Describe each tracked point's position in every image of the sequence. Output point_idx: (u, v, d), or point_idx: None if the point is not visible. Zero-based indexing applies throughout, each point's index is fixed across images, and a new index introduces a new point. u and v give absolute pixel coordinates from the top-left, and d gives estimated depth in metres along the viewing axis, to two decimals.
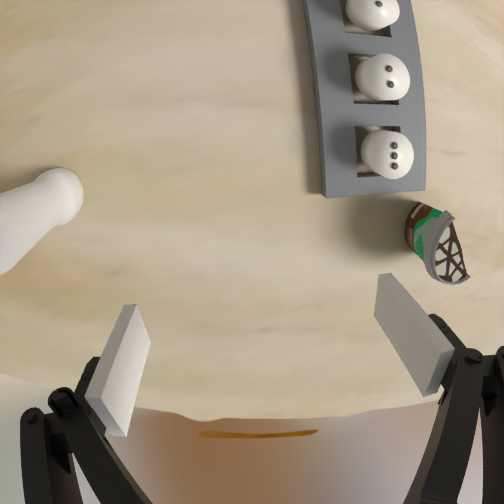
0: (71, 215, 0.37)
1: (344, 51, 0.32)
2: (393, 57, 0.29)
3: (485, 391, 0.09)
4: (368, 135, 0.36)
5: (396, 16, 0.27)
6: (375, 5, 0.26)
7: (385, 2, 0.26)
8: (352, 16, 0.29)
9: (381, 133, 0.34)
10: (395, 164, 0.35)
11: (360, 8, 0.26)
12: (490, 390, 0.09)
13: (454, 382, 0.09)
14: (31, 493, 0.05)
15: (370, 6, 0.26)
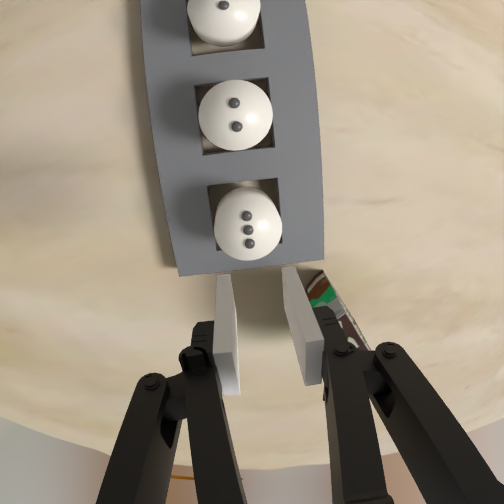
0: None
1: (188, 83, 0.26)
2: (243, 83, 0.22)
3: None
4: (223, 197, 0.30)
5: (253, 17, 0.20)
6: (218, 8, 0.19)
7: (236, 0, 0.19)
8: (195, 31, 0.22)
9: (230, 198, 0.27)
10: (250, 241, 0.28)
11: (191, 19, 0.20)
12: (372, 387, 0.11)
13: (331, 380, 0.10)
14: (119, 461, 0.07)
15: (209, 12, 0.20)
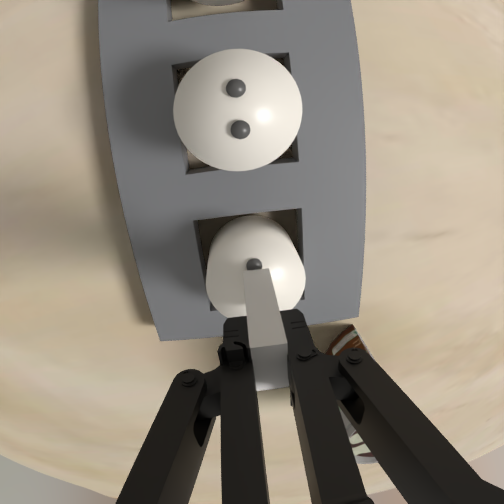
0: None
1: (163, 62, 0.15)
2: (251, 55, 0.12)
3: None
4: (219, 232, 0.21)
5: None
6: None
7: None
8: None
9: (229, 238, 0.18)
10: None
11: None
12: (338, 393, 0.11)
13: (296, 386, 0.10)
14: (147, 457, 0.08)
15: None
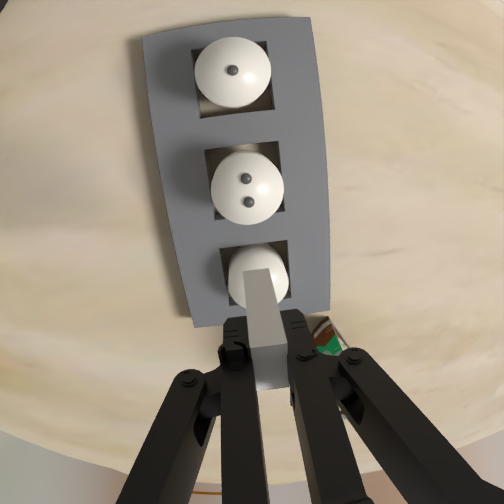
0: None
1: (198, 148, 0.28)
2: (254, 157, 0.24)
3: None
4: (235, 253, 0.33)
5: (264, 84, 0.22)
6: (226, 73, 0.21)
7: (245, 64, 0.21)
8: None
9: (242, 258, 0.31)
10: None
11: (200, 86, 0.22)
12: (337, 393, 0.11)
13: (296, 386, 0.10)
14: (147, 457, 0.08)
15: (217, 78, 0.22)
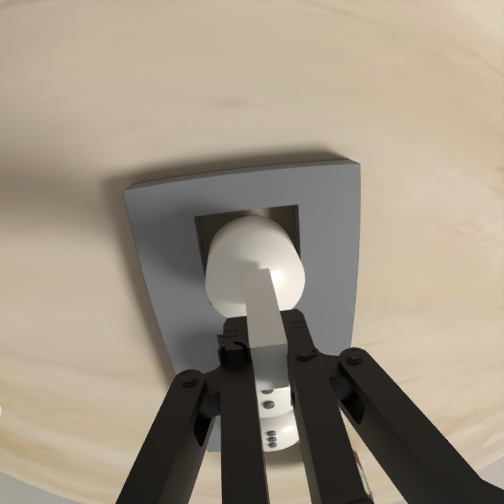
0: None
1: (210, 333, 0.25)
2: None
3: None
4: None
5: (294, 299, 0.19)
6: None
7: (272, 275, 0.19)
8: None
9: None
10: (273, 444, 0.29)
11: (213, 303, 0.19)
12: (338, 393, 0.11)
13: (296, 386, 0.10)
14: (147, 457, 0.08)
15: (236, 294, 0.19)
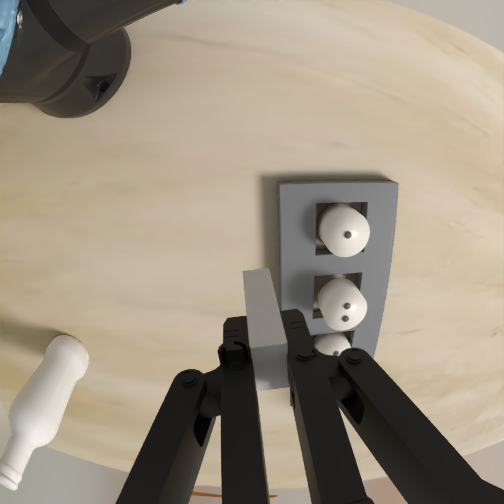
0: None
1: (311, 275, 0.42)
2: (354, 294, 0.38)
3: None
4: (319, 336, 0.47)
5: (363, 244, 0.38)
6: (344, 236, 0.37)
7: (355, 230, 0.37)
8: (321, 238, 0.40)
9: (327, 343, 0.45)
10: None
11: (326, 243, 0.38)
12: (337, 393, 0.11)
13: (296, 386, 0.10)
14: (147, 457, 0.08)
15: (338, 239, 0.37)
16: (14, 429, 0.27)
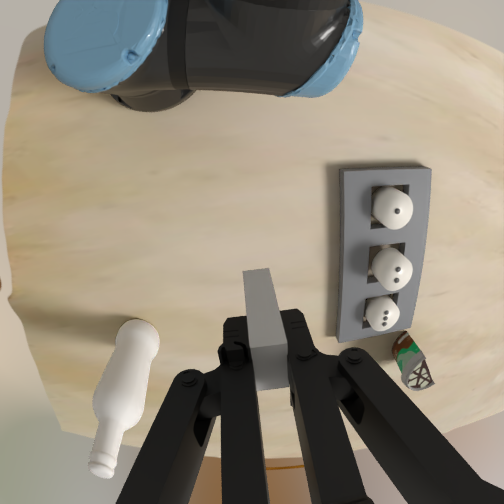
0: (154, 357, 0.53)
1: (367, 245, 0.48)
2: (403, 259, 0.45)
3: None
4: (370, 299, 0.54)
5: (408, 218, 0.44)
6: (394, 212, 0.44)
7: (403, 207, 0.44)
8: (374, 215, 0.47)
9: (379, 304, 0.52)
10: (385, 323, 0.52)
11: (381, 218, 0.44)
12: (338, 393, 0.11)
13: (296, 386, 0.10)
14: (147, 457, 0.08)
15: (390, 215, 0.44)
16: (103, 415, 0.35)
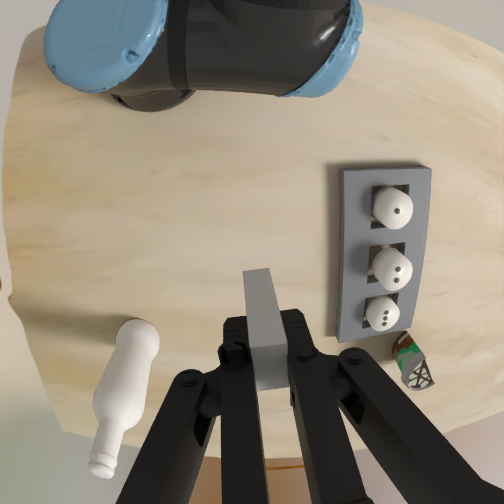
0: (154, 357, 0.53)
1: (367, 245, 0.48)
2: (403, 259, 0.45)
3: None
4: (370, 299, 0.54)
5: (408, 218, 0.44)
6: (394, 212, 0.44)
7: (403, 207, 0.44)
8: (374, 215, 0.47)
9: (379, 304, 0.52)
10: (385, 323, 0.52)
11: (381, 218, 0.44)
12: (337, 393, 0.11)
13: (296, 386, 0.10)
14: (147, 457, 0.08)
15: (390, 215, 0.44)
16: (103, 415, 0.35)
